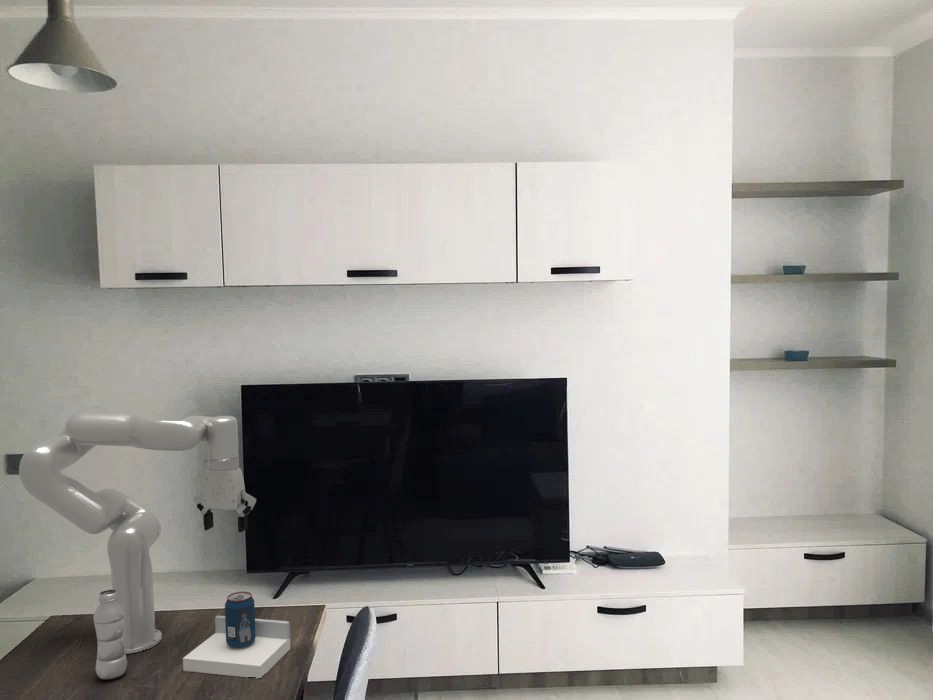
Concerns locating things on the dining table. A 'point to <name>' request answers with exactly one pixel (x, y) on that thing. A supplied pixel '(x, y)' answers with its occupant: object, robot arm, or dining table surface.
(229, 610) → the soda can
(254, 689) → the dining table surface
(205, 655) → the shelf
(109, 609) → the plastic bottle
